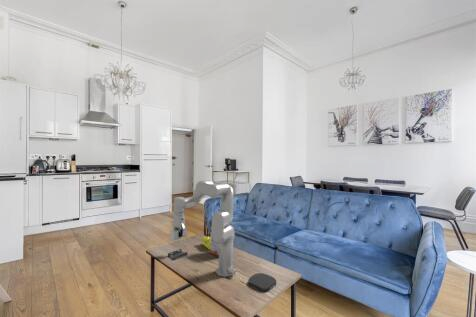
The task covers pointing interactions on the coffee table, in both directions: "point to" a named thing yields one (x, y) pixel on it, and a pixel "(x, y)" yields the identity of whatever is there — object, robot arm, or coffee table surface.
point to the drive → (177, 234)
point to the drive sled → (177, 254)
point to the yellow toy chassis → (206, 242)
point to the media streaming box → (262, 282)
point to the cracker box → (213, 245)
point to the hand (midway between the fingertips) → (178, 235)
